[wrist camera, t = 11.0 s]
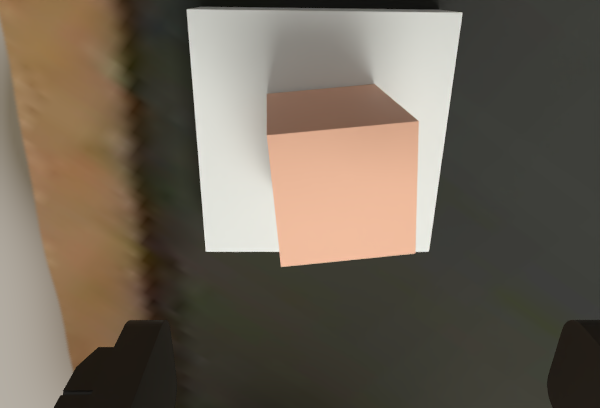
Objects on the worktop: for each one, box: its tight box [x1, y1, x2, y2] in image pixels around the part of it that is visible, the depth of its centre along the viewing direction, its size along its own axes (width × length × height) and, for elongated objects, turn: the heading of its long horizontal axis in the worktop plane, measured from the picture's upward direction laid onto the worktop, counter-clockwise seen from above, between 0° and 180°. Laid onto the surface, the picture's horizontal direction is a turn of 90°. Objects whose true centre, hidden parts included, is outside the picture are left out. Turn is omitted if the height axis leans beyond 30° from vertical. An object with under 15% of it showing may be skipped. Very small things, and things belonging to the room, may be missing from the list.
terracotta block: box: [267, 84, 419, 267], centre depth 20 cm, size 5×5×7 cm
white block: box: [187, 7, 462, 252], centre depth 25 cm, size 12×12×4 cm
